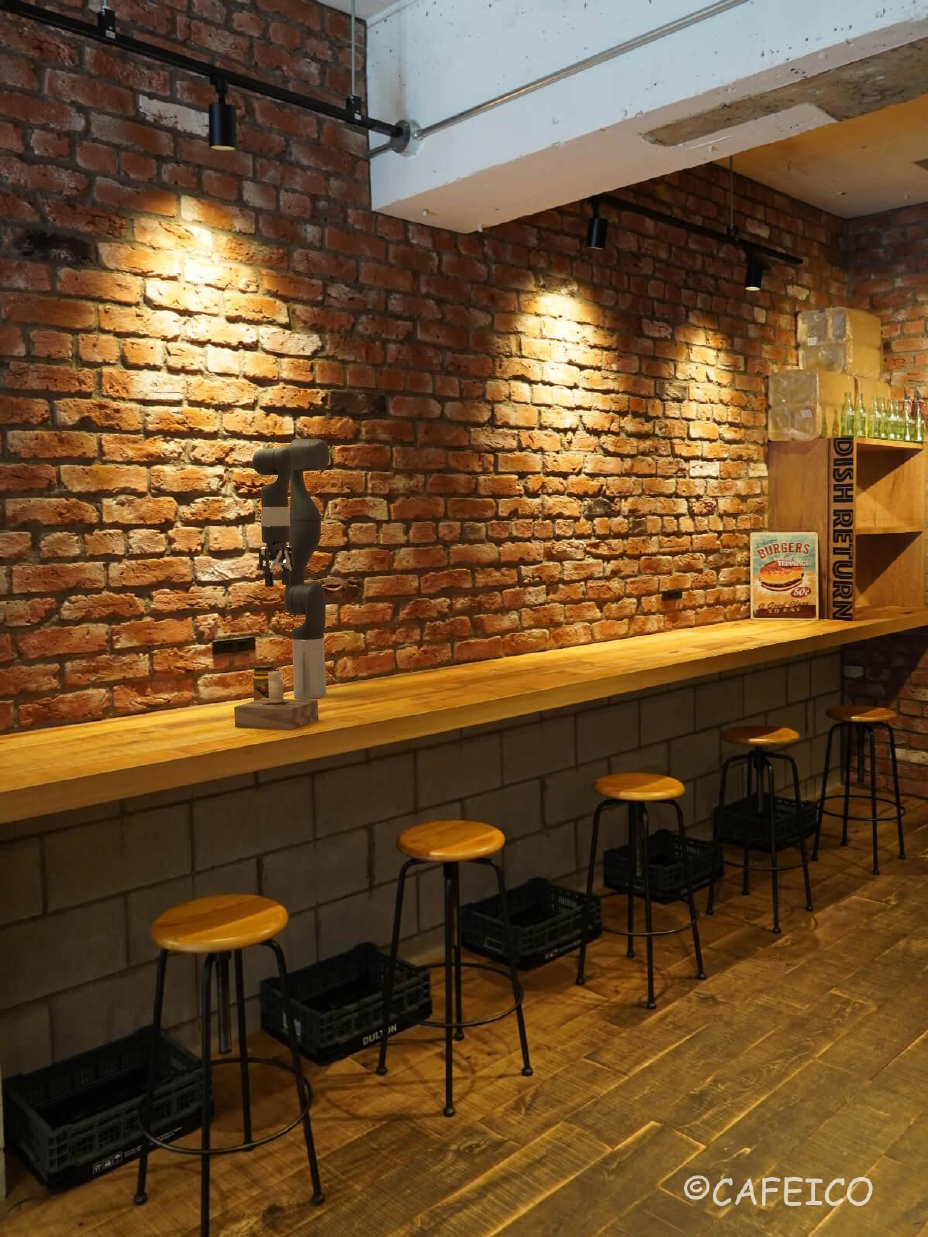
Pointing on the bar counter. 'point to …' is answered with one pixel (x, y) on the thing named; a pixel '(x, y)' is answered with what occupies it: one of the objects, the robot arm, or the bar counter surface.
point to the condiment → (261, 681)
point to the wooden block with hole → (276, 714)
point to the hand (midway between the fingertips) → (277, 586)
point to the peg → (275, 688)
